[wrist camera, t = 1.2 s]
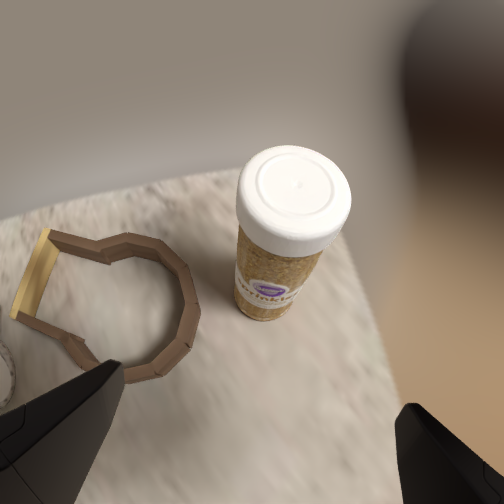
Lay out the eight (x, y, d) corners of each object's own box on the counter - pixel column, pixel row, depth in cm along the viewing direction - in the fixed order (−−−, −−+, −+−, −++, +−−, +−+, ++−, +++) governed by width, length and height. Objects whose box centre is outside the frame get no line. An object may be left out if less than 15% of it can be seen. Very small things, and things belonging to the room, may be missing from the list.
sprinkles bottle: (235, 323, 23) (239, 238, 11) (232, 265, 25) (234, 140, 13) (297, 320, 23) (366, 235, 11) (290, 263, 25) (340, 142, 13)
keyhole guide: (178, 400, 20) (172, 401, 18) (21, 337, 21) (4, 331, 19) (214, 265, 25) (212, 251, 23) (62, 228, 25) (50, 214, 23)
